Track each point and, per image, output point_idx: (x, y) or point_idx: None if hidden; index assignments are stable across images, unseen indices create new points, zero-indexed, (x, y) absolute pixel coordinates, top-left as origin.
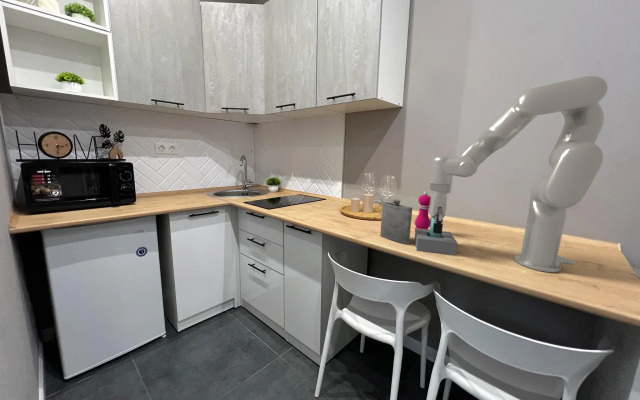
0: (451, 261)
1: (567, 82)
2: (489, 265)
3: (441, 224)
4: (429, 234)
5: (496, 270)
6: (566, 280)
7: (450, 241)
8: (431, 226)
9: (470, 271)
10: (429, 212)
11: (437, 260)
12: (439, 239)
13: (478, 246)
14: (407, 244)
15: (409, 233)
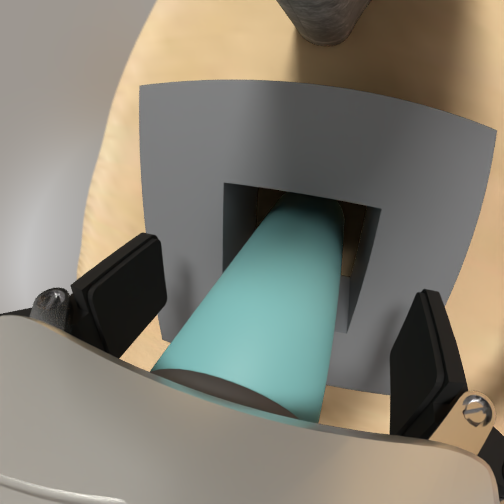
0: (122, 245)
1: None
2: (153, 356)
3: (99, 347)
4: (300, 219)
5: (127, 350)
6: None
7: (169, 315)
8: (239, 269)
9: (81, 274)
10: (237, 449)
11: (107, 185)
12: (177, 260)
13: (347, 420)
14: (299, 32)
15: (287, 11)
